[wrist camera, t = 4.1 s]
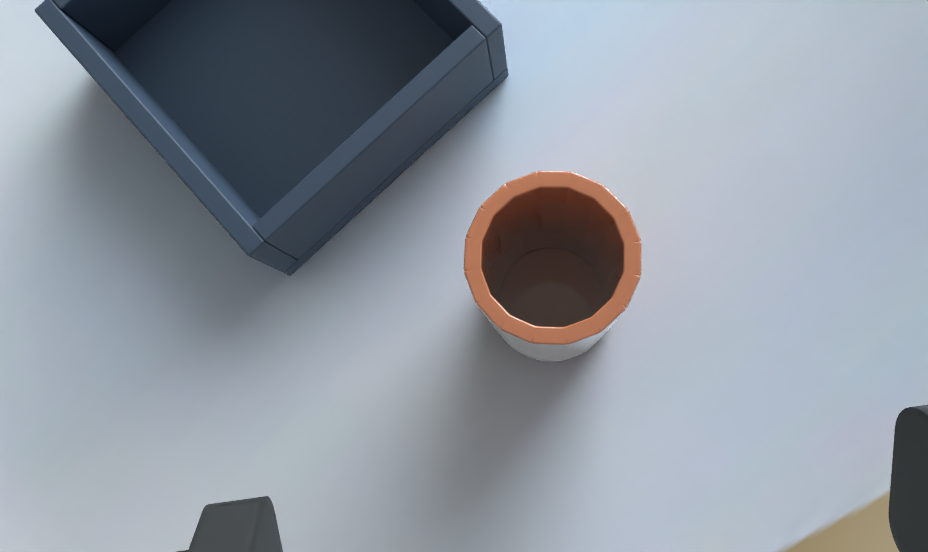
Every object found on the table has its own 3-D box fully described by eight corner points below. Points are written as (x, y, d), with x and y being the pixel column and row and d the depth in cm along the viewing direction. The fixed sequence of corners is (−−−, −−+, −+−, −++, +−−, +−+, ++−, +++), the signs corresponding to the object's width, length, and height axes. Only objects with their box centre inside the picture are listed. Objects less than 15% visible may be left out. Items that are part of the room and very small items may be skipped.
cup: (553, 214, 33) (555, 136, 23) (640, 301, 32) (679, 259, 23) (464, 296, 33) (428, 253, 23) (548, 387, 32) (548, 381, 22)
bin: (305, -126, 37) (269, -203, 32) (508, 75, 34) (502, 23, 30) (99, 60, 37) (33, 9, 32) (290, 276, 34) (248, 256, 29)
